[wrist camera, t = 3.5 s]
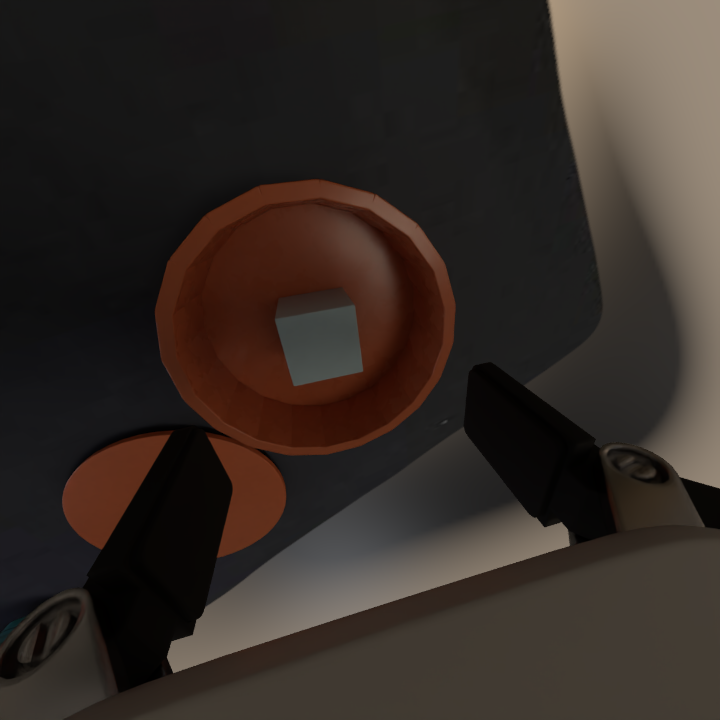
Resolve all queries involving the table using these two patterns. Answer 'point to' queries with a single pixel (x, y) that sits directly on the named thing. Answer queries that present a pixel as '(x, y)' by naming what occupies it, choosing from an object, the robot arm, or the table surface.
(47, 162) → the table surface
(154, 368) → the table surface
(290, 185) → the pot
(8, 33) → the table surface
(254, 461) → the lid
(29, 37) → the table surface
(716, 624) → the robot arm
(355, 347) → the grey cube
